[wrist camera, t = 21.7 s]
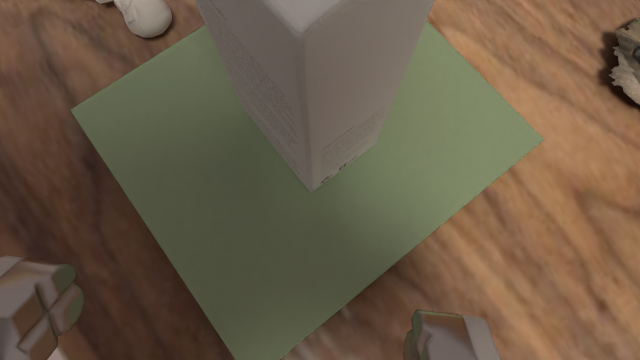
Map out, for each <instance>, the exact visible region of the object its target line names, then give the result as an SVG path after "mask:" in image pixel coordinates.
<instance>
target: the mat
mask: <svg viewBox="0 0 640 360" xmlns="http://www.w3.org/2000/svg"><path fill="white" fill-rule="evenodd" d="M70 111H71V112H72V114H73V115H74V117H75V118H76V120H77V121H78V123H79V125H80V126H81V128H82V129H83V131H84V132H85V134H86V135H87V137H88V138H89V140H90V141H91V143H92V144H93V146H94V147H95V149H96V150H97V152H98V153H99V155H100V156H101V158H102V159H103V161H104V162H105V164H106V165H107V167H108V168H109V170H110V171H111V173H112V174H113V176H114V177H115V179H116V180H117V182H118V183H119V185H120V186H121V188H122V189H123V191H124V192H125V194H126V195H127V197H128V198H129V200H130V202H131V203H132V205H133V206H134V208H135V209H136V211H137V212H138V214H139V215H140V217H141V218H142V220H143V221H144V223H145V224H146V226H147V227H148V229H149V230H150V232H151V233H152V235H153V236H154V238H155V239H156V241H157V242H158V244H159V245H160V247H161V248H162V250H163V251H164V253H165V254H166V256H167V257H168V259H169V260H170V262H171V263H172V265H173V266H174V268H175V269H176V271H177V272H178V274H179V276H180V277H181V279H182V280H183V282H184V283H185V285H186V286H187V288H188V289H189V291H190V292H191V294H192V295H193V297H194V298H195V300H196V301H197V303H198V304H199V306H200V307H201V309H202V310H203V312H204V313H205V315H206V316H207V318H208V319H209V321H210V322H211V324H212V325H213V327H214V328H215V330H216V331H217V333H218V334H219V336H220V337H221V339H222V340H223V342H224V343H225V345H226V346H227V348H228V349H229V351H230V353H231V354H232V356H233V357H234V359H235V360H280V359H281V358H282V357H283V356H285V355H286V354H287V353H288V352H289V351H291V350H292V349H293V348H294V347H295V346H297V345H298V344H299V343H300V342H301V341H303V340H304V339H305V338H306V337H307V336H309V335H310V334H311V333H312V332H313V331H315V330H316V329H317V328H318V327H319V326H321V325H322V324H323V323H324V322H325V321H327V320H328V319H329V318H330V317H331V316H333V315H334V314H335V313H336V312H337V311H339V310H340V309H341V308H342V307H343V306H345V305H346V304H347V303H348V302H349V301H351V300H352V299H353V298H354V297H355V296H357V295H358V294H359V293H360V292H361V291H363V290H364V289H365V288H366V287H368V286H369V285H370V284H371V283H372V282H374V281H375V280H376V279H377V278H378V277H380V276H381V275H382V274H383V273H384V272H386V271H387V270H388V269H389V268H390V267H392V266H393V265H394V264H395V263H396V262H398V261H399V260H400V259H401V258H402V257H404V256H405V255H406V254H407V253H408V252H410V251H411V250H412V249H413V248H414V247H416V246H417V245H418V244H419V243H420V242H422V241H423V240H424V239H425V238H426V237H428V236H429V235H430V234H431V233H432V232H434V231H435V230H436V229H437V228H438V227H440V226H441V225H442V224H443V223H445V222H446V221H447V220H448V219H449V218H451V217H452V216H453V215H454V214H455V213H457V212H458V211H459V210H460V209H461V208H463V207H464V206H465V205H466V204H467V203H469V202H470V201H471V200H472V199H473V198H475V197H476V196H477V195H478V194H479V193H481V192H482V191H483V190H484V189H485V188H487V187H488V186H489V185H490V184H491V183H493V182H494V181H495V180H496V179H497V178H499V177H500V176H501V175H502V174H503V173H505V172H506V171H507V170H508V169H509V168H511V167H512V166H513V165H514V164H515V163H517V162H518V161H519V160H520V159H521V158H523V157H524V156H525V155H526V154H528V153H529V152H530V151H531V150H532V149H534V148H535V147H536V146H537V145H538V144H540V143H541V142H542V141H543V140H544V139H543V138H542V137H541V136H540V135H539V134H538V133H537V132H536V131H535V130H534V129H533V128H532V127H531V126H530V125H529V124H528V123H527V122H526V120H525V119H524V118H523V117H522V116H521V115H520V114H519V113H518V112H517V111H516V110H515V109H514V108H513V107H512V106H511V105H510V104H509V103H508V102H507V101H506V100H505V99H504V98H503V97H502V96H501V95H500V94H499V93H498V92H497V91H496V90H495V89H494V88H493V87H492V86H491V85H490V84H489V83H488V82H487V81H486V80H485V79H484V78H483V77H482V76H481V75H480V74H479V73H478V72H477V71H476V70H475V69H474V68H473V67H472V66H471V65H470V64H469V63H468V62H467V61H466V60H465V59H464V58H463V57H462V56H461V55H460V53H459V52H458V51H457V50H456V49H455V48H454V47H453V46H452V45H451V44H450V43H449V42H448V41H447V40H446V39H445V38H444V37H443V36H442V35H441V34H440V33H439V32H438V31H437V30H436V29H435V28H434V27H433V26H432V25H431V24H430V23H429V22H428V21H427V20H426V22H425V25H424V27H423V30H422V32H421V34H420V37H419V39H418V41H417V44H416V47H415V49H414V51H413V54H412V56H411V58H410V61H409V64H408V66H407V68H406V71H405V73H404V76H403V78H402V81H401V83H400V86H399V88H398V90H397V93H396V95H395V98H394V100H393V102H392V105H391V107H390V110H389V112H388V115H387V117H386V120H385V122H384V124H383V127H382V129H381V132H380V134H379V137H378V139H377V142H376V144H375V145H374V146H373V147H371V148H370V149H368V150H367V151H366V152H364V153H363V154H362V155H360V156H359V157H358V158H356V159H355V160H354V161H353V162H351V163H350V164H349V165H347V166H346V167H345V168H344V169H342V170H341V171H340V172H339V173H337V174H336V175H335V176H333V177H332V178H330V179H329V180H328V181H326V182H325V183H324V184H322V185H321V186H320V187H319V188H317V189H316V190H315V191H313V192H309V190H308V189H307V188H306V187H305V185H304V184H303V183H302V182H301V180H300V179H299V178H298V177H297V175H296V174H295V173H294V172H293V170H292V169H291V168H290V167H289V165H288V164H287V163H286V162H285V160H284V159H283V158H282V157H281V155H280V154H279V153H278V152H277V150H276V149H275V148H274V147H273V145H272V144H271V143H270V142H269V140H268V139H267V138H266V136H265V135H264V134H263V133H262V131H261V130H260V129H259V128H258V126H257V125H256V124H255V123H254V121H253V120H252V119H251V118H250V116H249V115H248V114H247V113H246V111H245V110H244V109H243V108H242V106H241V104H240V101H239V99H238V97H237V95H236V92H235V90H234V88H233V85H232V83H231V81H230V78H229V76H228V74H227V72H226V69H225V67H224V65H223V63H222V60H221V58H220V56H219V54H218V51H217V49H216V47H215V45H214V42H213V40H212V38H211V36H210V33H209V31H208V29H207V27H206V25H204V26H202V27H200V28H199V29H197V30H196V31H194V32H193V33H191V34H189V35H188V36H186V37H185V38H183V39H181V40H180V41H178V42H177V43H175V44H173V45H172V46H170V47H169V48H167V49H166V50H164V51H162V52H161V53H159V54H158V55H156V56H154V57H153V58H151V59H150V60H148V61H147V62H145V63H143V64H142V65H140V66H139V67H137V68H135V69H134V70H132V71H131V72H129V73H128V74H126V75H124V76H123V77H121V78H120V79H118V80H116V81H115V82H113V83H112V84H110V85H109V86H107V87H105V88H104V89H102V90H101V91H99V92H97V93H96V94H94V95H93V96H91V97H90V98H88V99H86V100H85V101H83V102H82V103H80V104H78V105H77V106H75V107H74V108H72V109H71V110H70Z"/></svg>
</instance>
